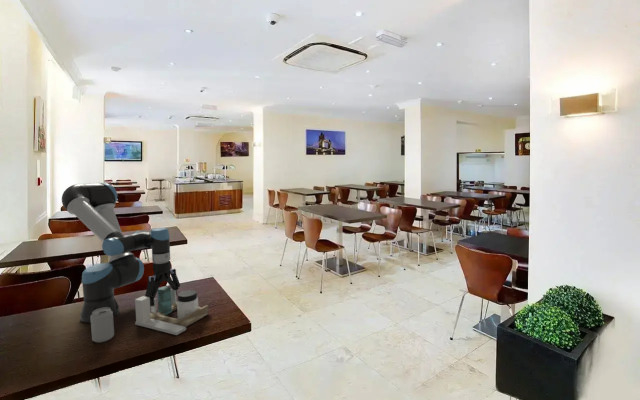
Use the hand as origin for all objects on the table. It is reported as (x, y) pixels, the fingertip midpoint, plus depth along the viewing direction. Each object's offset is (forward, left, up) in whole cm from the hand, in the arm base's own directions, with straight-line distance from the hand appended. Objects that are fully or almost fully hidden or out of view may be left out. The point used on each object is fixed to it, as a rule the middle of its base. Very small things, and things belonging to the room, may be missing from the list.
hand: (164, 307), depth 155 cm
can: (-4, -26, -3) cm, 27 cm away
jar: (+14, 0, -3) cm, 15 cm away
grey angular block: (+10, -11, -3) cm, 15 cm away
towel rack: (+9, 0, -3) cm, 10 cm away
